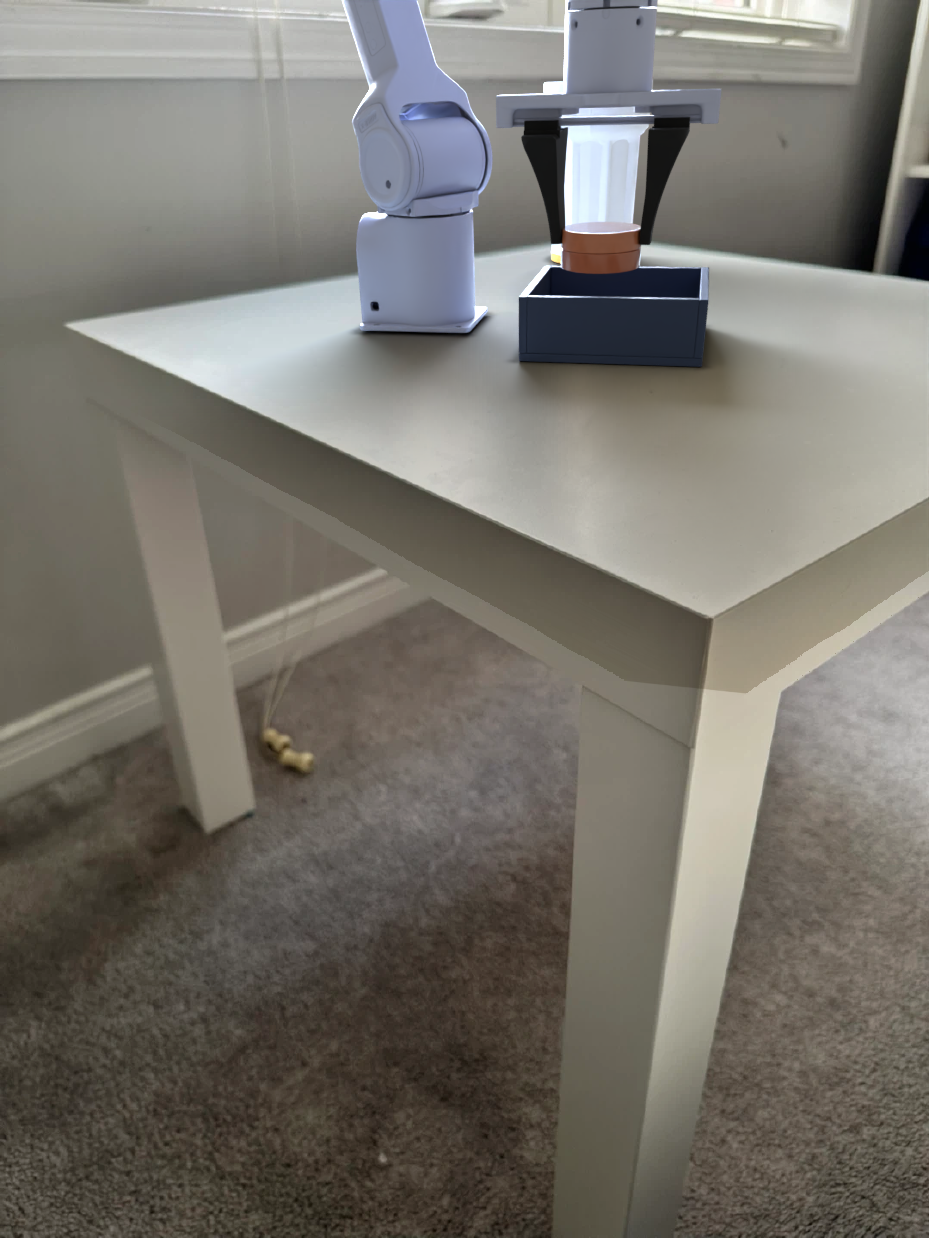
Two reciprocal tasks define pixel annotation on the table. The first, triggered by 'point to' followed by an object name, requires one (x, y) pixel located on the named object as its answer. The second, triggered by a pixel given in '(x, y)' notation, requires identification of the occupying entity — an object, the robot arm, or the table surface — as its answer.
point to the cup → (599, 167)
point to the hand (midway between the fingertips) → (600, 242)
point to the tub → (615, 317)
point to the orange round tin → (600, 247)
